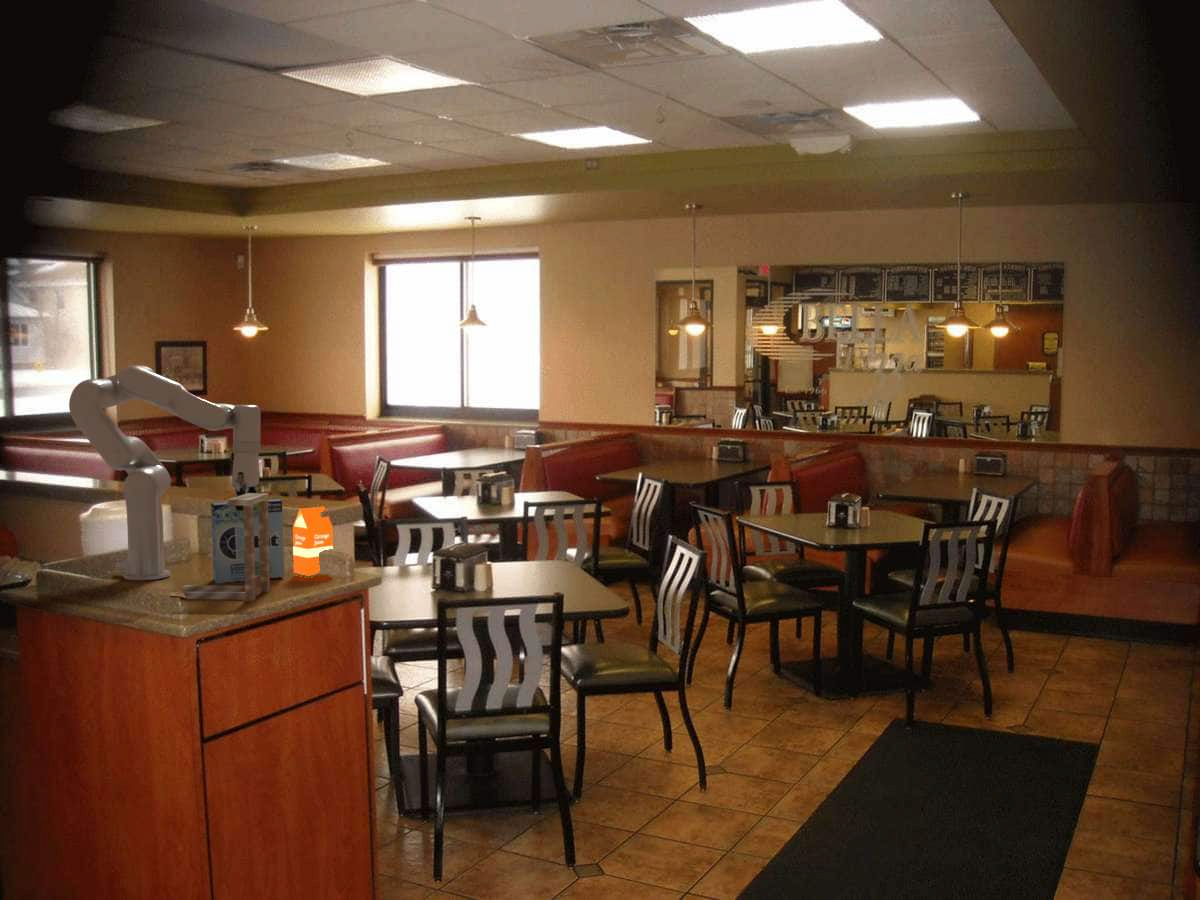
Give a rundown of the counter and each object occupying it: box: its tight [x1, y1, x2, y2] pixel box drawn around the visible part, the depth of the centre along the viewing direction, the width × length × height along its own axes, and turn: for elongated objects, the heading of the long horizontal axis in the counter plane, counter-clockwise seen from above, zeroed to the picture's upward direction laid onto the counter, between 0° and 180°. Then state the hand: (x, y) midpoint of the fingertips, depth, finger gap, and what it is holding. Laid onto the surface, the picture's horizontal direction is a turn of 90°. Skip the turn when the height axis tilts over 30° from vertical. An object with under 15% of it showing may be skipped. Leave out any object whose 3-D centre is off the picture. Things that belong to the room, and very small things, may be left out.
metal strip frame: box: [181, 492, 271, 602], centre depth 300 cm, size 23×15×27 cm, turn 88°
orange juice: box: [292, 506, 334, 576], centre depth 332 cm, size 8×9×20 cm
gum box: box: [210, 498, 286, 584], centre depth 323 cm, size 20×5×23 cm, turn 119°
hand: (246, 508), depth 323 cm, fingers open, 7 cm apart
